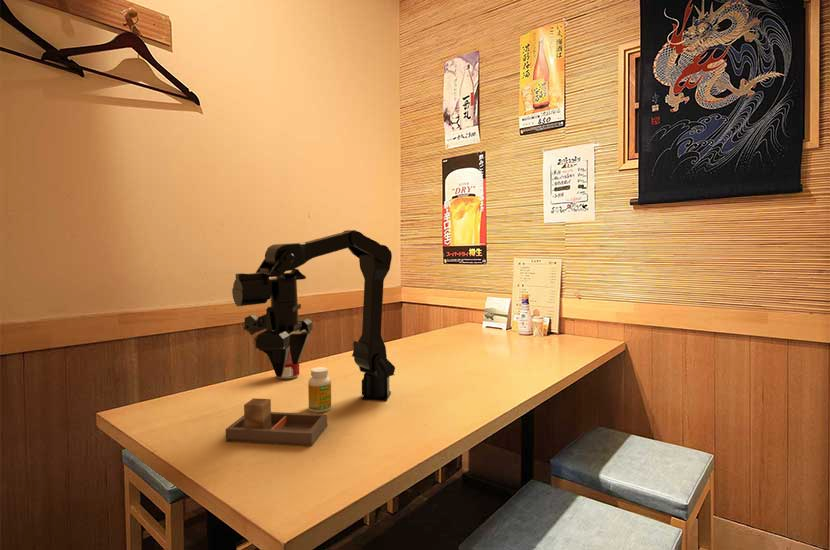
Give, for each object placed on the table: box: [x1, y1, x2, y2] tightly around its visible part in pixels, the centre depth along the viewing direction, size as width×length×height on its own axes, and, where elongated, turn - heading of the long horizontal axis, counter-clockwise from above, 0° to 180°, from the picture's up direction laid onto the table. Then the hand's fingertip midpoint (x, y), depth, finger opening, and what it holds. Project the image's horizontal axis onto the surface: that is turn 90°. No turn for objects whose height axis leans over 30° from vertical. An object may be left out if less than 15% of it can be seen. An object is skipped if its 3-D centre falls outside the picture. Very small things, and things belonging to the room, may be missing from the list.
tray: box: [225, 411, 328, 447], centre depth 95 cm, size 18×10×3 cm, turn 83°
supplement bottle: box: [307, 366, 332, 413], centre depth 109 cm, size 5×5×10 cm
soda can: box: [275, 349, 300, 381], centre depth 135 cm, size 7×7×12 cm
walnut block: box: [243, 397, 272, 429], centre depth 96 cm, size 4×4×6 cm
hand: (287, 370), depth 101 cm, fingers open, 9 cm apart
